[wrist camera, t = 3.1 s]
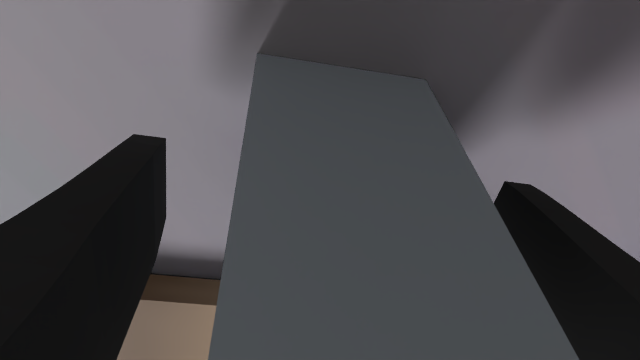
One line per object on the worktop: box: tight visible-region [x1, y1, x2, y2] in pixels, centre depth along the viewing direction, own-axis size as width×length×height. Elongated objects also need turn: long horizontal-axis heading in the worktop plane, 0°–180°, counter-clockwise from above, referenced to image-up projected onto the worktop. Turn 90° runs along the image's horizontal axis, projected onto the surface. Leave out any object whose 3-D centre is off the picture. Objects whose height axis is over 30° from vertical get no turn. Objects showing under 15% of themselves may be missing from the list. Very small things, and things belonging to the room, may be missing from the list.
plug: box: [208, 53, 579, 360], centre depth 9 cm, size 4×4×8 cm
